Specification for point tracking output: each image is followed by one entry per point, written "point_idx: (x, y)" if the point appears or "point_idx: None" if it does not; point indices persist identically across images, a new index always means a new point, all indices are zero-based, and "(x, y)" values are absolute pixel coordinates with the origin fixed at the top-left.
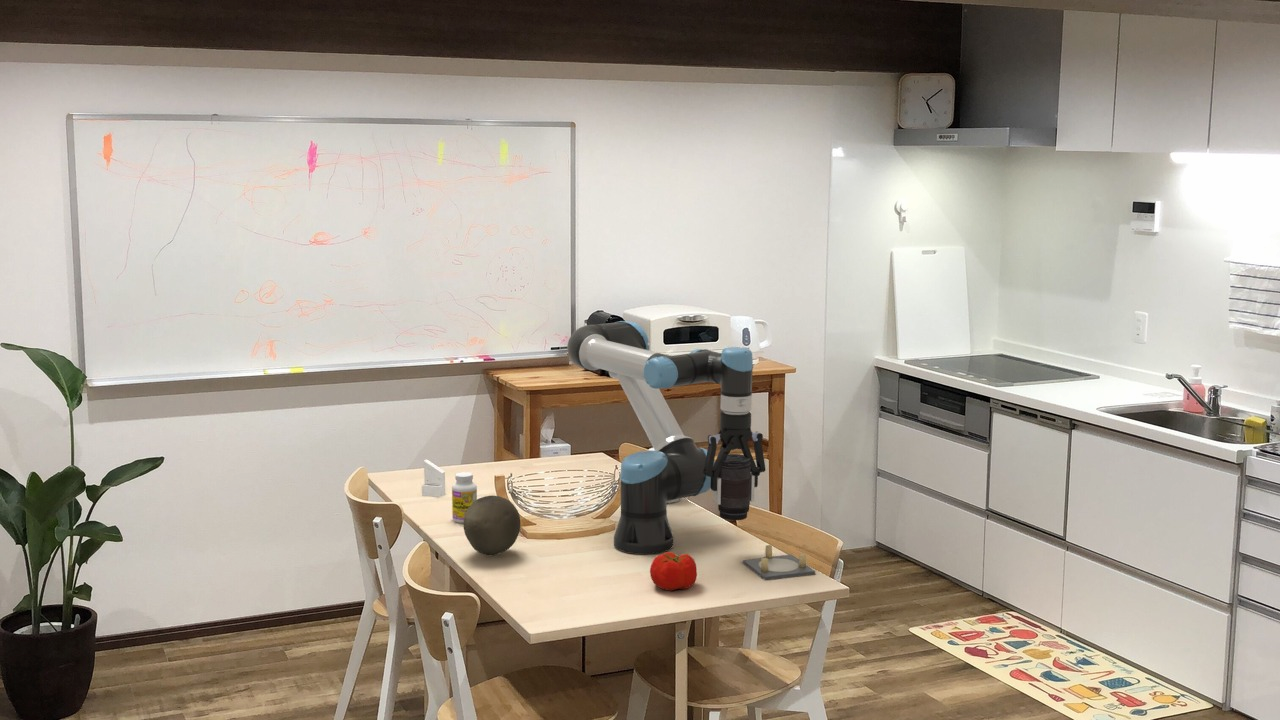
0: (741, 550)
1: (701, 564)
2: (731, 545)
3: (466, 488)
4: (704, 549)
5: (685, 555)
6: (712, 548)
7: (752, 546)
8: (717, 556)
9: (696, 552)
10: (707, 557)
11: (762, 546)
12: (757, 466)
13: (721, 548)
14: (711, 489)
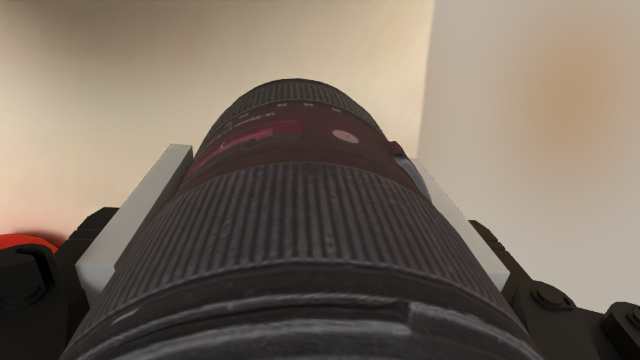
0: (337, 75)
1: (160, 148)
2: (333, 6)
3: None
4: (218, 7)
5: None
6: (252, 9)
7: (393, 51)
8: (236, 99)
9: (178, 28)
10: (200, 95)
11: (422, 65)
12: (623, 349)
13: (283, 24)
14: (104, 212)
